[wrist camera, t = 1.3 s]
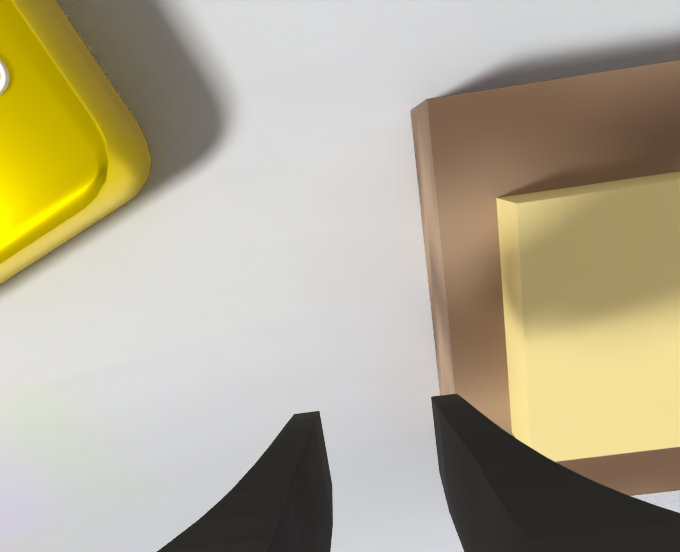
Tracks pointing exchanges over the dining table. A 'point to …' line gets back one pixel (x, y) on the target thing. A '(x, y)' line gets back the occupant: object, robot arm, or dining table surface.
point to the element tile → (58, 136)
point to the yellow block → (593, 316)
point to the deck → (521, 178)
